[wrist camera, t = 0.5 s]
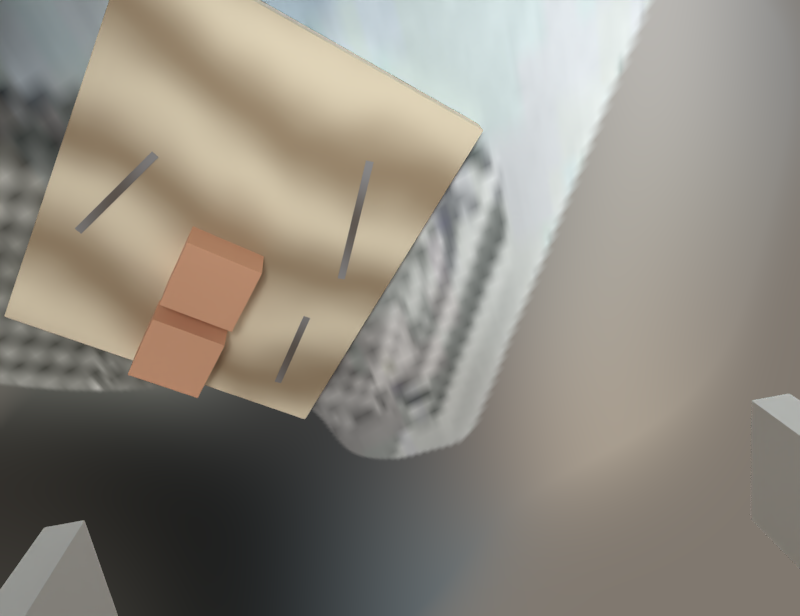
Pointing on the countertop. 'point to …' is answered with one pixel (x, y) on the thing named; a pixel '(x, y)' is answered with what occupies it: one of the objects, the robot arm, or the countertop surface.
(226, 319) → the terracotta square block
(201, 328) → the salmon orange square block
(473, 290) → the countertop surface
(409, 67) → the countertop surface
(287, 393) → the birch board
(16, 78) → the countertop surface
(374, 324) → the countertop surface
